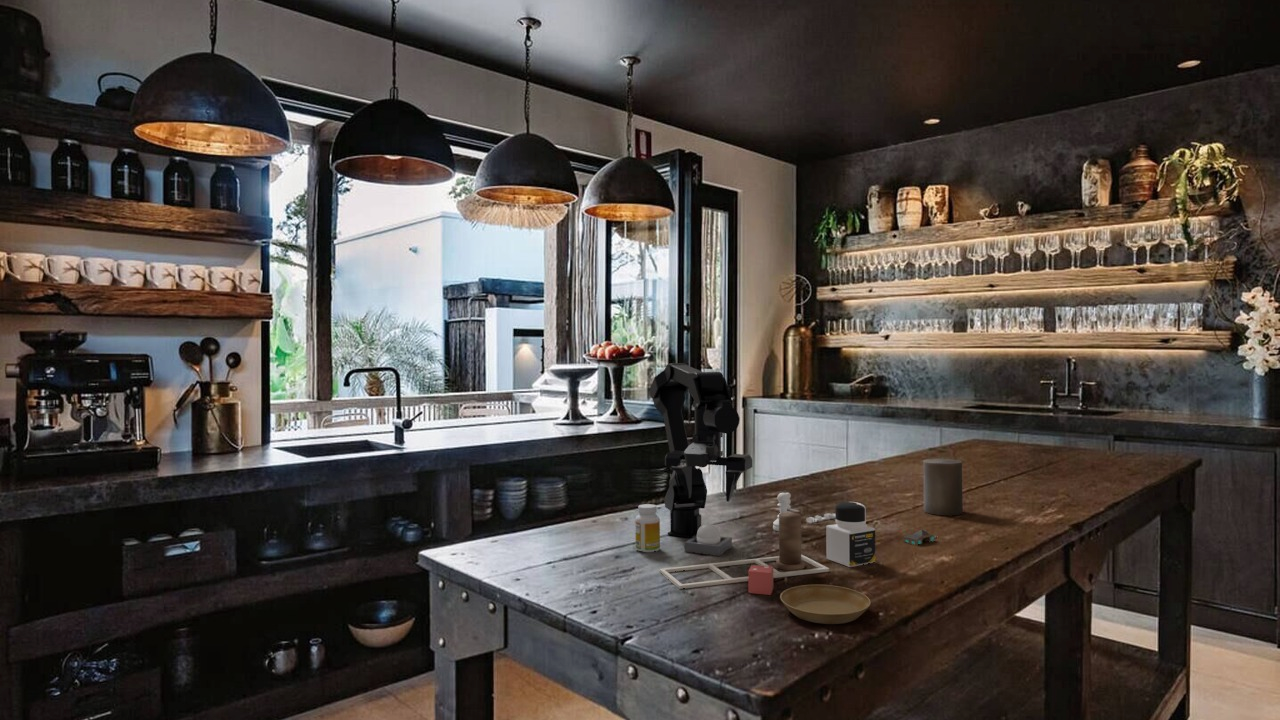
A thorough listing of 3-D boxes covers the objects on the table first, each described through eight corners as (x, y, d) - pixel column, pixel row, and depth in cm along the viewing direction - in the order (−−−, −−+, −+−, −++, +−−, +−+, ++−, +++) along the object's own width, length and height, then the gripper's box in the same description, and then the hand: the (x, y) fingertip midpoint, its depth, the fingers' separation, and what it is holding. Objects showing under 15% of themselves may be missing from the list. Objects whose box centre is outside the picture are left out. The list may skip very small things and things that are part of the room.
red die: (748, 592, 136) (748, 570, 136) (751, 586, 140) (751, 564, 140) (770, 594, 135) (770, 572, 135) (773, 587, 138) (773, 565, 138)
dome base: (684, 551, 164) (684, 542, 164) (698, 542, 171) (698, 533, 171) (719, 555, 160) (719, 546, 160) (731, 546, 167) (731, 537, 167)
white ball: (693, 548, 164) (692, 525, 164) (702, 542, 169) (701, 520, 169) (715, 551, 162) (715, 527, 162) (723, 545, 166) (723, 522, 166)
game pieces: (766, 513, 201) (766, 492, 201) (799, 507, 209) (799, 486, 209) (911, 550, 165) (911, 524, 165) (946, 541, 172) (946, 516, 172)
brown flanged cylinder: (772, 568, 150) (772, 516, 150) (780, 561, 155) (780, 510, 155) (800, 572, 148) (800, 519, 148) (807, 564, 153) (807, 513, 153)
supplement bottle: (663, 547, 167) (663, 504, 166) (654, 554, 162) (653, 509, 162) (641, 545, 169) (641, 502, 169) (631, 551, 164) (631, 507, 164)
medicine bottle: (849, 567, 151) (849, 508, 150) (825, 559, 157) (825, 502, 157) (876, 562, 154) (876, 504, 154) (851, 554, 160) (851, 498, 160)
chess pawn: (793, 532, 179) (793, 495, 179) (772, 531, 180) (772, 494, 180) (793, 527, 184) (793, 491, 184) (773, 526, 185) (773, 490, 185)
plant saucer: (815, 636, 116) (815, 619, 116) (763, 606, 130) (763, 591, 130) (890, 621, 122) (890, 605, 122) (832, 594, 136) (832, 579, 136)
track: (679, 589, 138) (679, 585, 138) (659, 572, 149) (659, 569, 149) (829, 571, 148) (829, 568, 148) (800, 556, 159) (800, 553, 159)
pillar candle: (968, 516, 194) (968, 458, 194) (931, 516, 194) (931, 458, 194) (953, 508, 204) (953, 453, 204) (917, 508, 204) (917, 453, 204)
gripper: (653, 431, 162) (654, 503, 162) (735, 434, 153) (736, 510, 154) (674, 425, 172) (675, 493, 172) (752, 429, 163) (753, 500, 164)
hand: (708, 499), depth 165 cm, fingers open, 9 cm apart
